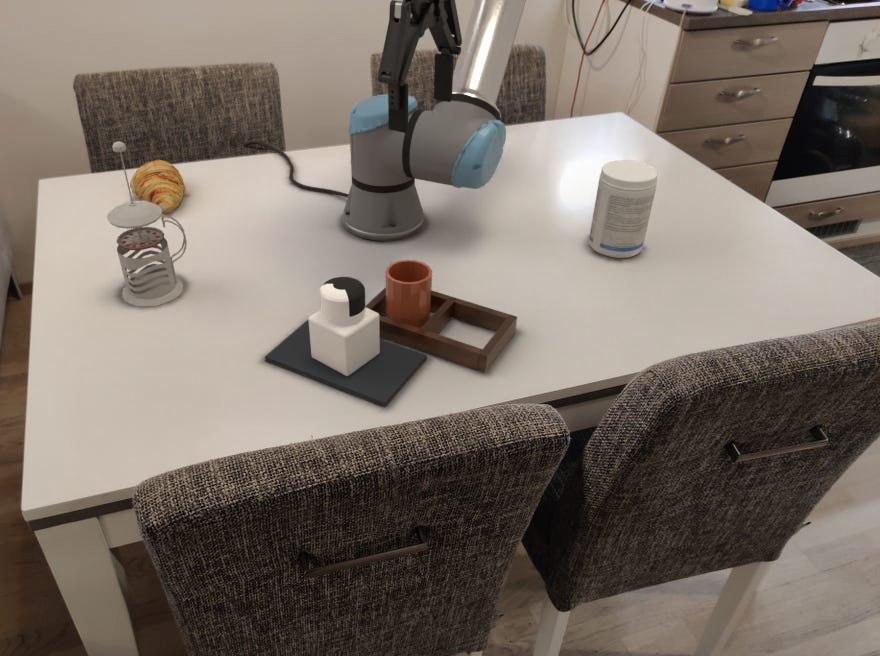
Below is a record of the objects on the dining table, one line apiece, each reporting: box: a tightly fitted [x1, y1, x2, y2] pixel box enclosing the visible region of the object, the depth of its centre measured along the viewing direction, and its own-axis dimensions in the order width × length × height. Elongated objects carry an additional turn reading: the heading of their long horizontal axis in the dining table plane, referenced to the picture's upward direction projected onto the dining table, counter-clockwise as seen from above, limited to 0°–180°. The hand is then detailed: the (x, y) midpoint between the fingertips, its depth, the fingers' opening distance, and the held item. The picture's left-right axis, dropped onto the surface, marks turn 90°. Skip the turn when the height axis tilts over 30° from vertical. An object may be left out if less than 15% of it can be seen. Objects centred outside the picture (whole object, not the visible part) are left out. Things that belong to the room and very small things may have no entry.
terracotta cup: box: [385, 259, 433, 328], centre depth 110 cm, size 7×7×9 cm
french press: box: [106, 140, 188, 308], centre depth 111 cm, size 10×12×25 cm
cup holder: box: [365, 286, 518, 373], centre depth 110 cm, size 21×11×3 cm, turn 61°
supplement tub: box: [588, 159, 659, 259], centre depth 127 cm, size 10×10×15 cm
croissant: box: [129, 158, 186, 213], centre depth 145 cm, size 21×10×8 cm, turn 26°
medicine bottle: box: [307, 276, 381, 376], centre depth 100 cm, size 7×7×12 cm
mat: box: [264, 319, 428, 408], centre depth 104 cm, size 20×12×1 cm, turn 61°
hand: (421, 114), depth 105 cm, fingers open, 13 cm apart
